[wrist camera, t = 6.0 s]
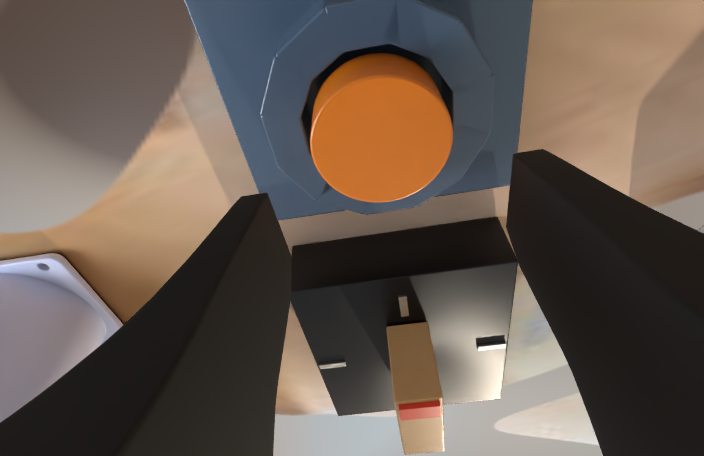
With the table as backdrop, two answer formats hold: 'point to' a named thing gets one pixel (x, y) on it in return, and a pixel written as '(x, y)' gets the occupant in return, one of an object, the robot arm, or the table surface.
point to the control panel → (407, 308)
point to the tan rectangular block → (416, 388)
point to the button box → (348, 43)
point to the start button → (380, 128)
